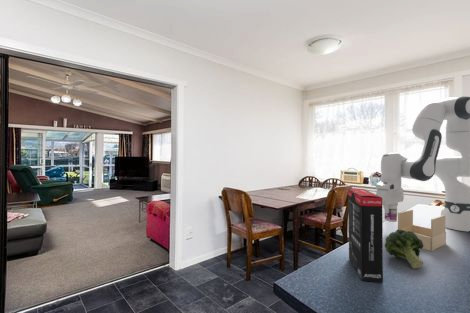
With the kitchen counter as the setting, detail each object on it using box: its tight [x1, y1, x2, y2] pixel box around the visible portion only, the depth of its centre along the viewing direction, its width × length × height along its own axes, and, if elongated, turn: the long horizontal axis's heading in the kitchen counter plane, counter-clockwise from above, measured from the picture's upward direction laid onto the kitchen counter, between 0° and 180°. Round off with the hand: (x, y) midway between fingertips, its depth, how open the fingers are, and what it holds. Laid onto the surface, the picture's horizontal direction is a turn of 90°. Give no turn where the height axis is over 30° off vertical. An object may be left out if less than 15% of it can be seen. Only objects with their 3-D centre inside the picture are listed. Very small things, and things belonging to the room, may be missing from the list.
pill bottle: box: [384, 202, 398, 223], centre depth 123 cm, size 5×5×10 cm
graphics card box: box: [347, 188, 384, 283], centre depth 84 cm, size 17×7×27 cm, turn 168°
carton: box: [396, 209, 447, 252], centre depth 110 cm, size 15×13×13 cm
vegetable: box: [384, 229, 424, 270], centre depth 91 cm, size 12×13×15 cm
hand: (390, 212), depth 123 cm, fingers closed on pill bottle, 5 cm apart
